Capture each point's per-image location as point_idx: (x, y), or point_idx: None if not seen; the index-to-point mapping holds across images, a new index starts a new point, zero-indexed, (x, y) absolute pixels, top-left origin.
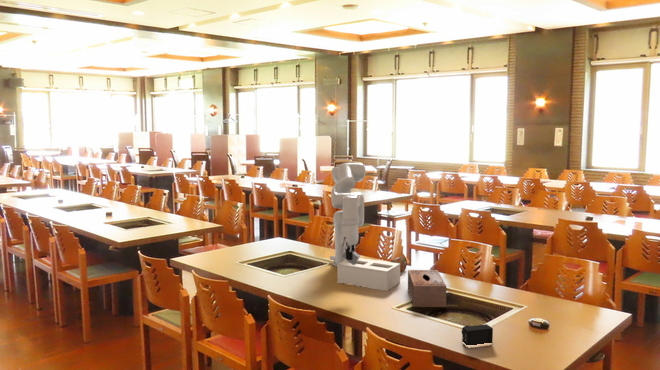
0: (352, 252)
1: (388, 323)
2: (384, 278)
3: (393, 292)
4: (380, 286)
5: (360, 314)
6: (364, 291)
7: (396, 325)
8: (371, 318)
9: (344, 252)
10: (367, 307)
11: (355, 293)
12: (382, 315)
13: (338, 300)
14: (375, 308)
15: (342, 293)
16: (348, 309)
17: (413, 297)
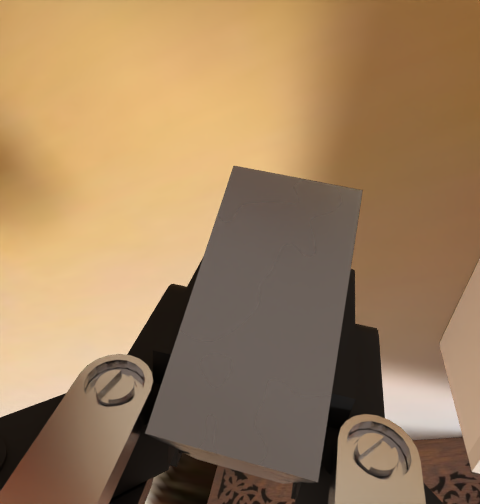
0: (195, 454)
1: (3, 386)
2: (465, 396)
3: (417, 375)
4: (464, 321)
5: (9, 279)
6: (396, 211)
7: (6, 408)
8: (2, 328)
9: (197, 280)
10: (111, 290)
11: (327, 161)
12: (60, 361)
13: (126, 90)
14: (119, 325)
15: (293, 55)
16: (27, 207)
17: (227, 488)
